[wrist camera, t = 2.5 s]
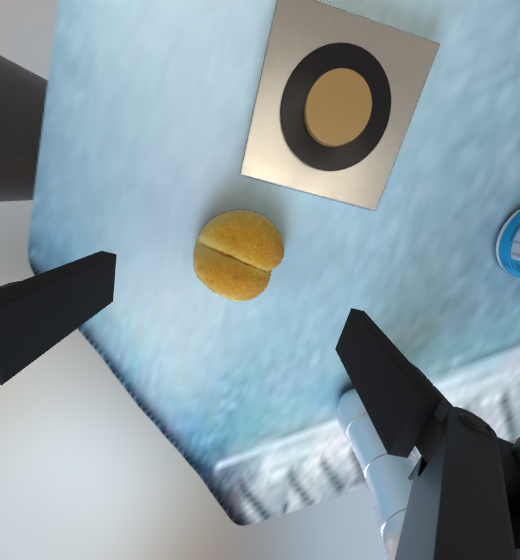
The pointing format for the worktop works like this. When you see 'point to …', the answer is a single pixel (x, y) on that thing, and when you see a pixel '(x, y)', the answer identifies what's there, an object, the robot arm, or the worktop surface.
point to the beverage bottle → (510, 245)
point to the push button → (334, 102)
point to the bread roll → (237, 254)
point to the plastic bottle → (378, 469)
